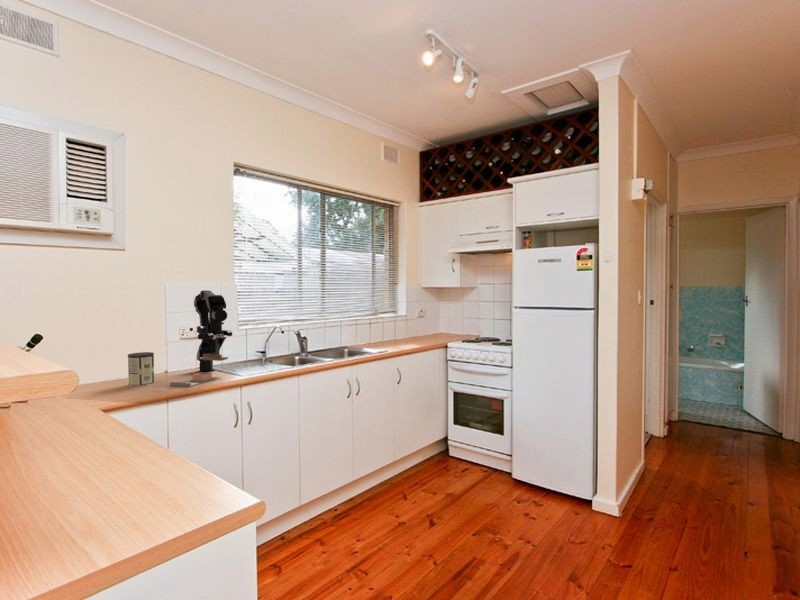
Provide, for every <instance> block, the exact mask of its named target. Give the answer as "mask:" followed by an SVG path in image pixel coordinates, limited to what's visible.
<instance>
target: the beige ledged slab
mask: <svg viewBox="0 0 800 600" xmlns="http://www.w3.org/2000/svg"><path fill="white" fill-rule="evenodd" d="M220 351H221V348H219V343H217V347H216V351H215V353H213V352H212V354H203V360H213V361H215V362H217V361H218V362H220V361H225V360H229V357H228V356H222V355H223V354H220V353H221V352H220Z"/></svg>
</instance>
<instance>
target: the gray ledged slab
mask: <svg viewBox="0 0 800 600" xmlns="http://www.w3.org/2000/svg"><path fill="white" fill-rule="evenodd" d="M218 379H219V380H220V377H217V376H212V379H211V380H207V381H204V382H200V381H192V379H190V380H187V381H186V380H185V381H183V382H178V381H177V382H176V381H175V382H174V381H171V382H169V385H170V387H179V388H191V387H194V386H198V385H202V384H204V383H208V382H212V381H216V380H218Z"/></svg>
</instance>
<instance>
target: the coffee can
mask: <svg viewBox="0 0 800 600" xmlns="http://www.w3.org/2000/svg"><path fill="white" fill-rule="evenodd" d="M154 355H155V352H151V351H145V352H144V351H143V352H133V353H128V354H127V362H128V363H127V365H128V366H127V369H128V370H127V372H128V373H127V374H128V376H127V377H128V387H129V386H130V388H134V387H143V386H149V385H153V384H155V358H154V357H155V356H154Z"/></svg>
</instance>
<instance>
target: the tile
mask: <svg viewBox="0 0 800 600" xmlns="http://www.w3.org/2000/svg"><path fill="white" fill-rule="evenodd" d="M191 376H192V377H191V378H192V379H191V380H192V381H200V382H204V381H207V380H211V379H212V377H213V373H212V372H198V373H194V374H192V375H191Z"/></svg>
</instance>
